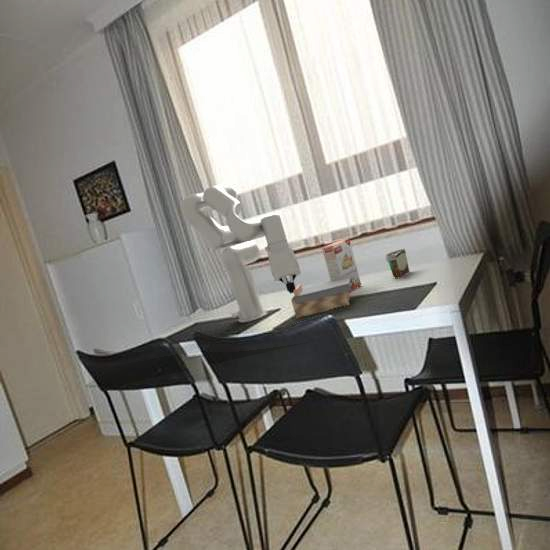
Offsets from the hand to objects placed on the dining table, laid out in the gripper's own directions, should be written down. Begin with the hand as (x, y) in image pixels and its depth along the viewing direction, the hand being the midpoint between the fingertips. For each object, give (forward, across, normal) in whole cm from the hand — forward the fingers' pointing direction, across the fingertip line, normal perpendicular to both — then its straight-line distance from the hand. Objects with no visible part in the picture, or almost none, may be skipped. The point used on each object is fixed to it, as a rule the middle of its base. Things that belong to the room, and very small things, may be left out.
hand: (292, 292), depth 178 cm
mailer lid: (+3, +12, 0) cm, 12 cm away
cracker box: (+9, +19, +19) cm, 28 cm away
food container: (+9, +40, +26) cm, 48 cm away
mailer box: (+9, +10, 0) cm, 13 cm away
